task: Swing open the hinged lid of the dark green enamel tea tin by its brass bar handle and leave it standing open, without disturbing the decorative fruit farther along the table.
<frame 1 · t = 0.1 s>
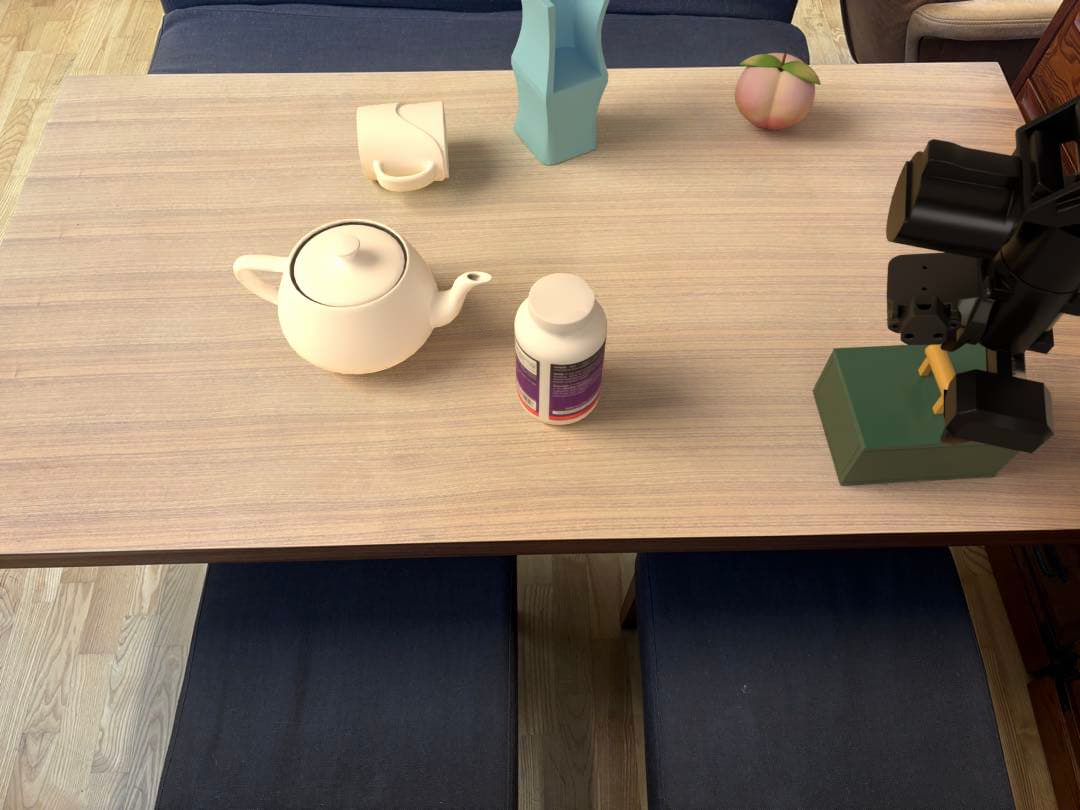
hand: (946, 394, 68), 12 cm above the table, tool pointing down, fingers open, 9 cm apart
mug: (408, 177, 98), on the table
decorative fruit: (764, 126, 104), on the table
teapot: (374, 329, 86), on the table
vase: (557, 139, 102), on the table
tin lid: (941, 381, 73), point 9 cm above the table, hinge at 0.0°
pill bottle: (557, 395, 82), on the table
tea tin: (900, 432, 80), on the table
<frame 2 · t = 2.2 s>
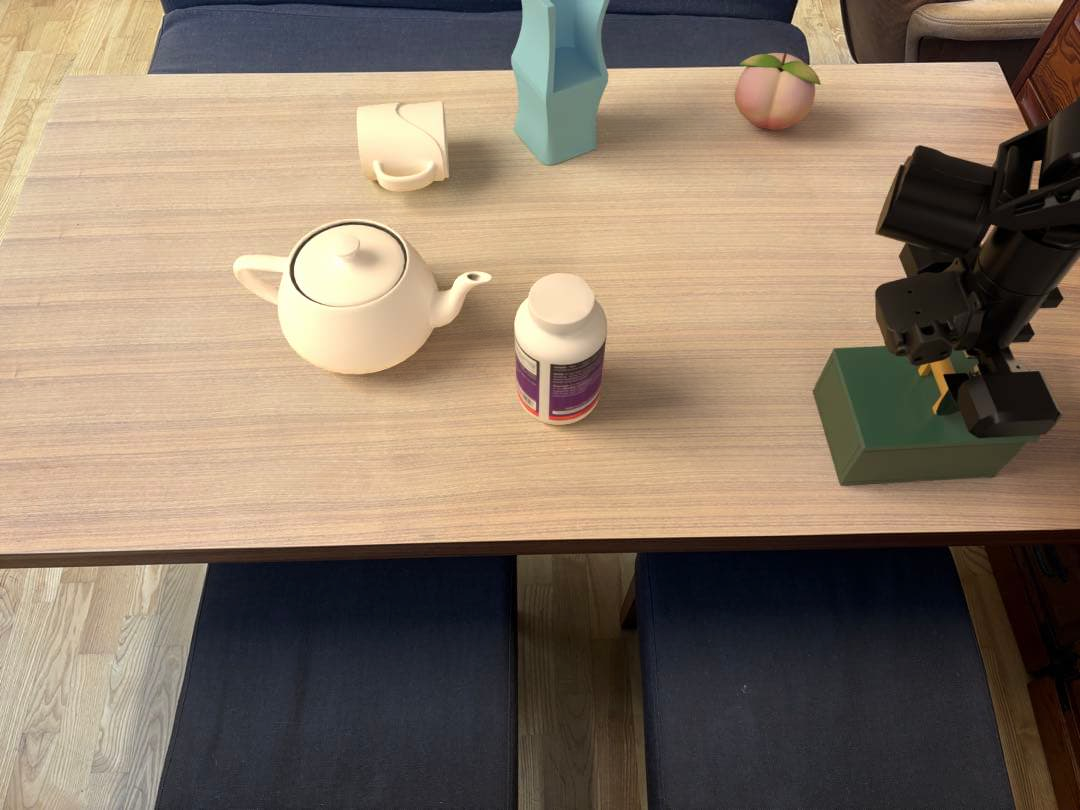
hand: (932, 387, 74), 8 cm above the table, tool pointing down, fingers closed on tin lid, 5 cm apart
tin lid: (941, 381, 73), point 8 cm above the table, hinge at 0.0°, touching gripper
everything else where it was.
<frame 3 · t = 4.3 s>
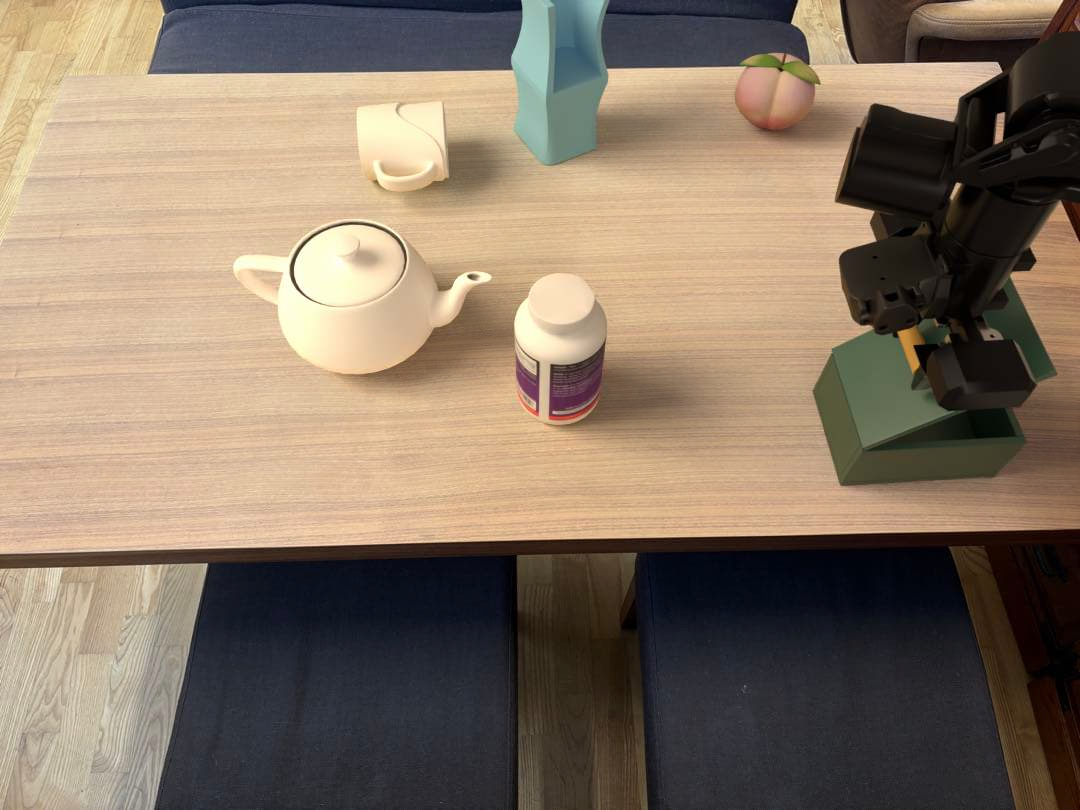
hand: (907, 361, 70), 12 cm above the table, tool pointing down, fingers closed on tin lid, 5 cm apart
tin lid: (925, 351, 69), point 13 cm above the table, hinge at 42.2°, touching gripper
everything else where it was.
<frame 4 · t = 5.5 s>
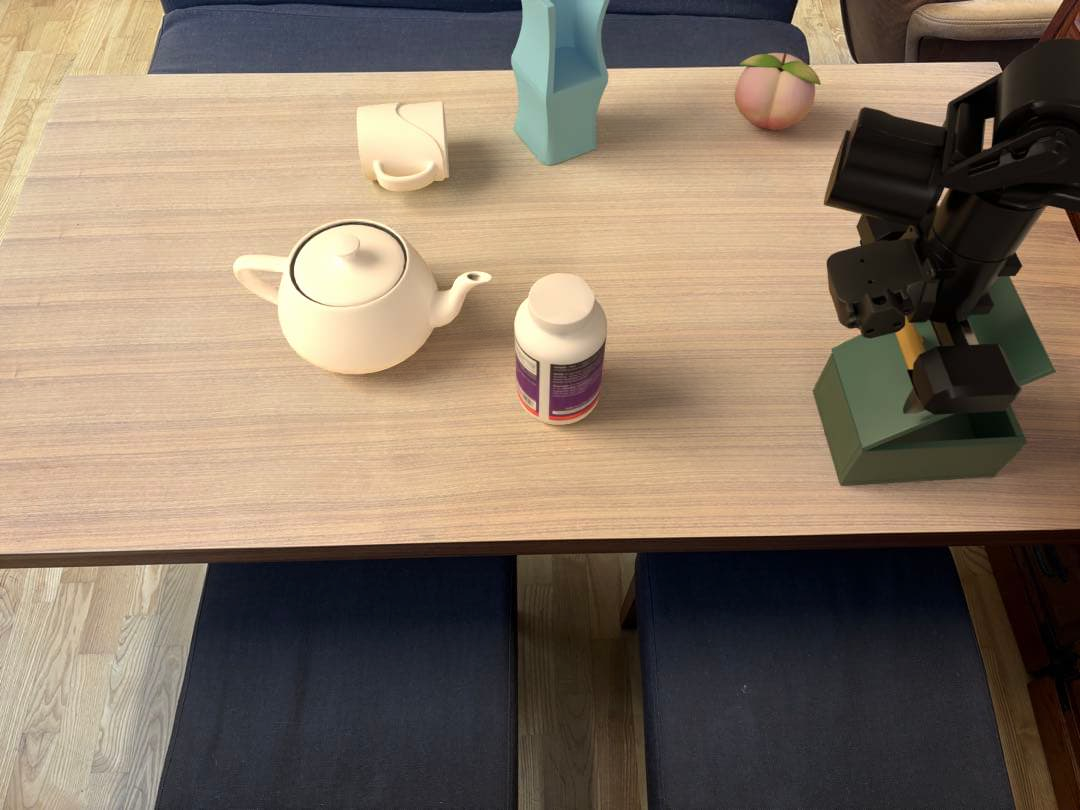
hand: (892, 365, 70), 11 cm above the table, tool pointing down, fingers open, 9 cm apart
tin lid: (923, 350, 69), point 13 cm above the table, hinge at 44.1°
everything else where it was.
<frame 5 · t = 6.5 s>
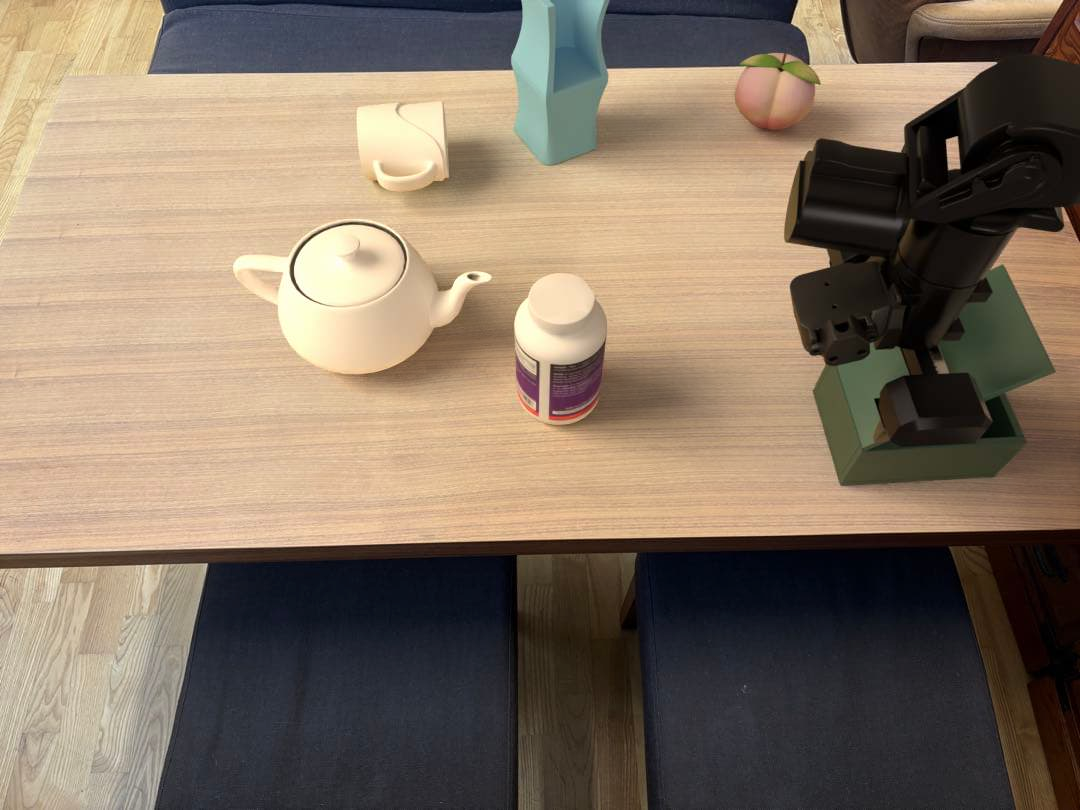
hand: (863, 390, 67), 12 cm above the table, tool pointing down, fingers open, 9 cm apart
nothing on the table moved.
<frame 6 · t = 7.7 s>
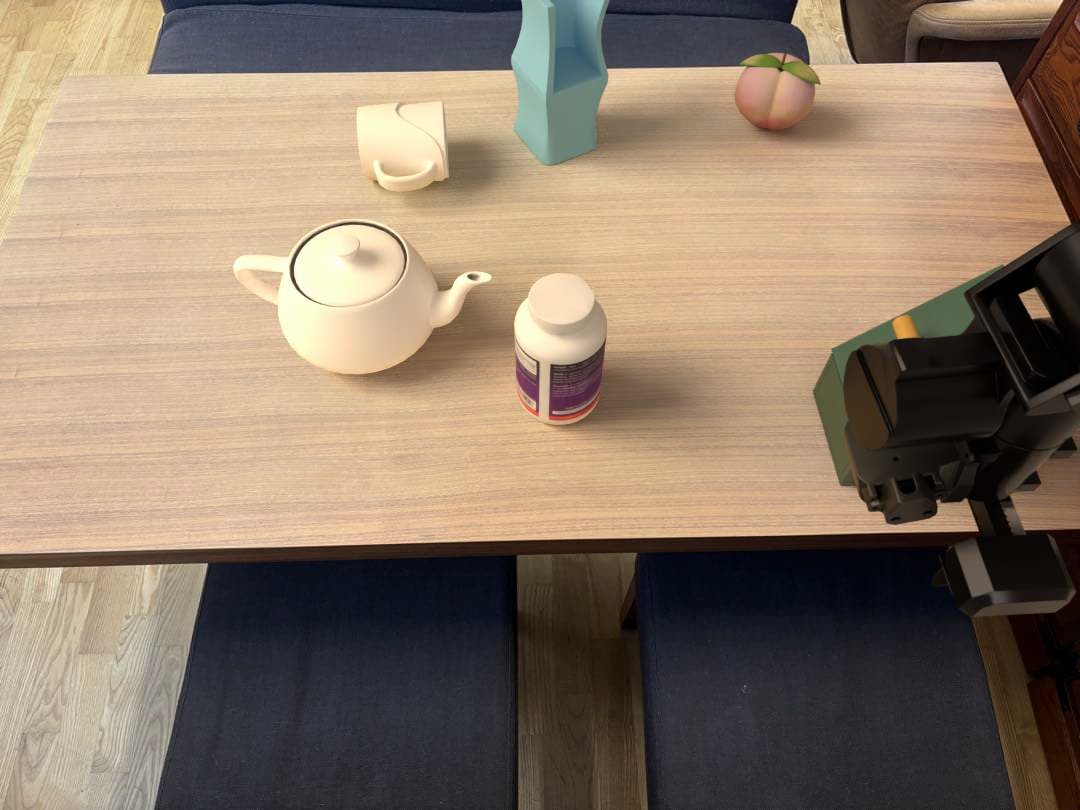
hand: (918, 523, 61), 12 cm above the table, tool pointing down, fingers open, 9 cm apart
nothing on the table moved.
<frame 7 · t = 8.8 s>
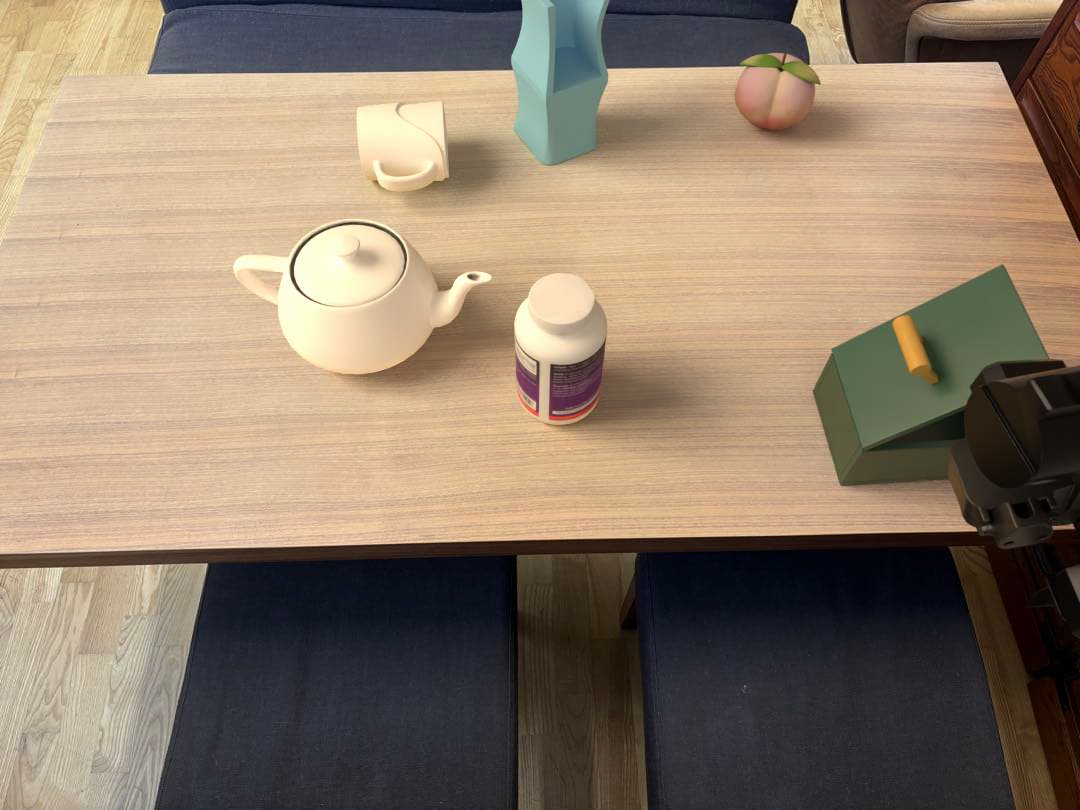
hand: (1008, 543, 61), 12 cm above the table, tool pointing down, fingers open, 9 cm apart
nothing on the table moved.
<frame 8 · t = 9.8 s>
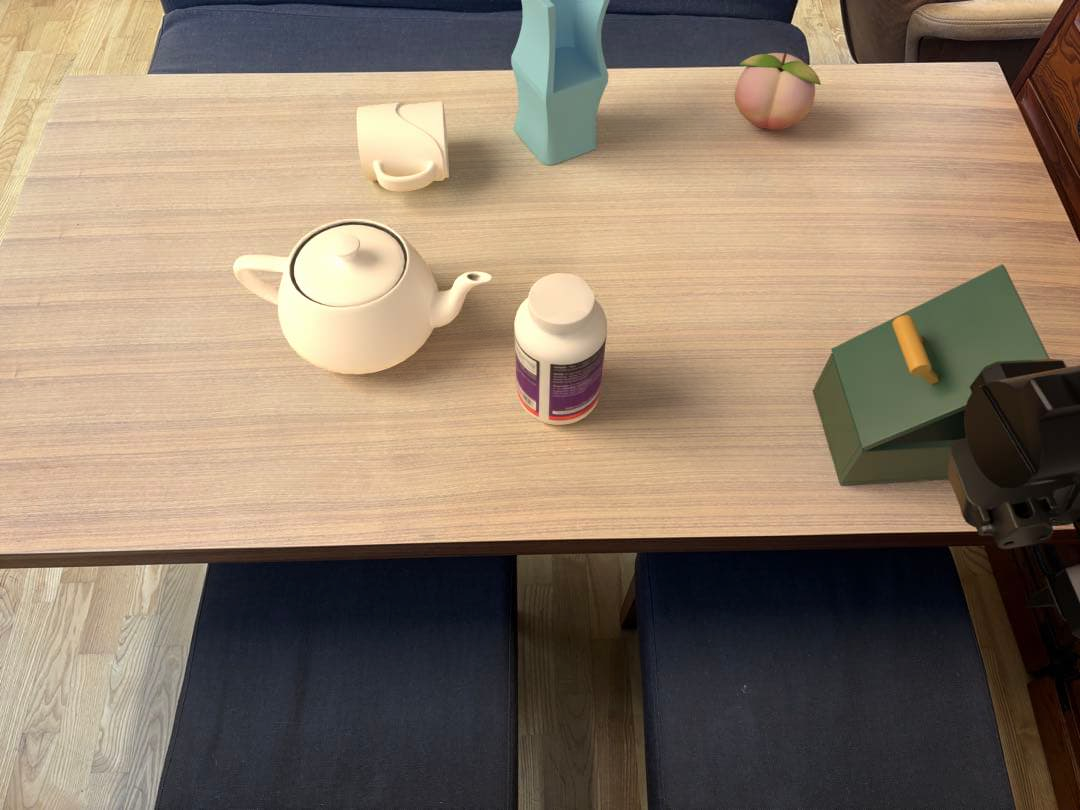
hand: (1008, 543, 61), 12 cm above the table, tool pointing down, fingers open, 9 cm apart
nothing on the table moved.
at the end: tin lid at +44° (first picture: +0°); decorative fruit moved 0.2 cm from its start; tin lid touching nothing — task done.
